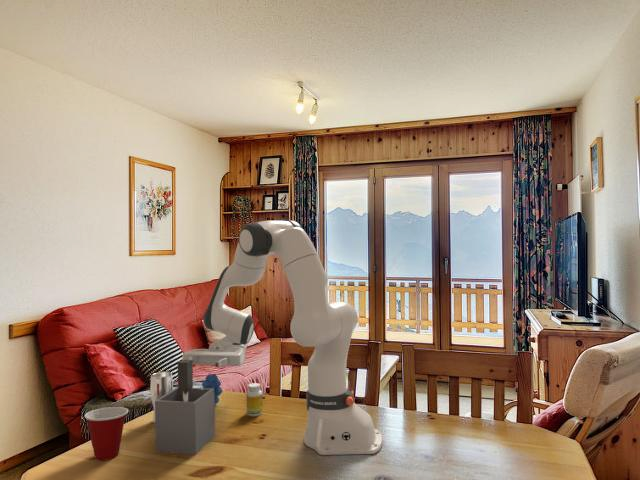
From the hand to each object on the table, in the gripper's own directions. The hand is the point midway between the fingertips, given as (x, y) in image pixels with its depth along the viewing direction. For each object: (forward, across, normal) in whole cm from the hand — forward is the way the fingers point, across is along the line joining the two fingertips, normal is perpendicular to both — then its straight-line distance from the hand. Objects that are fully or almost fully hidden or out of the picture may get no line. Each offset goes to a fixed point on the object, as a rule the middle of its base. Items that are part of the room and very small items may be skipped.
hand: (203, 363), depth 137 cm
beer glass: (-2, -16, +20) cm, 26 cm away
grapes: (-16, -4, +20) cm, 25 cm away
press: (+12, 0, +20) cm, 23 cm away
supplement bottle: (-12, +12, +20) cm, 26 cm away
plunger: (+11, 0, +18) cm, 21 cm away
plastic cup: (+22, -18, +20) cm, 34 cm away
